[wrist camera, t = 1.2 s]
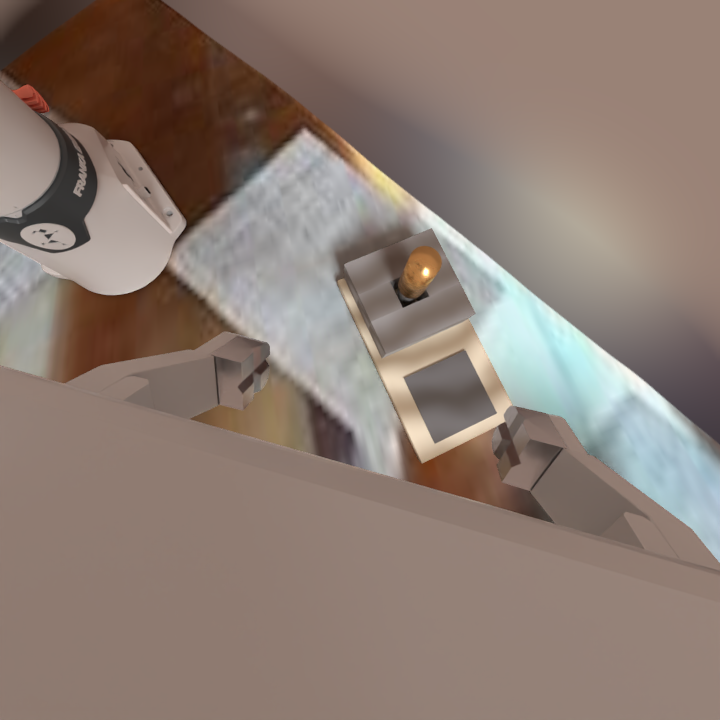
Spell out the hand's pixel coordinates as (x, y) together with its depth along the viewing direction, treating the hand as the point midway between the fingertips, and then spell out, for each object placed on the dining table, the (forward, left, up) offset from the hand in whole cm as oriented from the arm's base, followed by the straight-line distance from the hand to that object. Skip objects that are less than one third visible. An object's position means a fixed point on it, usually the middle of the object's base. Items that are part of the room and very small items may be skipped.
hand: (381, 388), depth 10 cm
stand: (-2, +11, -29) cm, 31 cm away
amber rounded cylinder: (-9, +11, -27) cm, 31 cm away
